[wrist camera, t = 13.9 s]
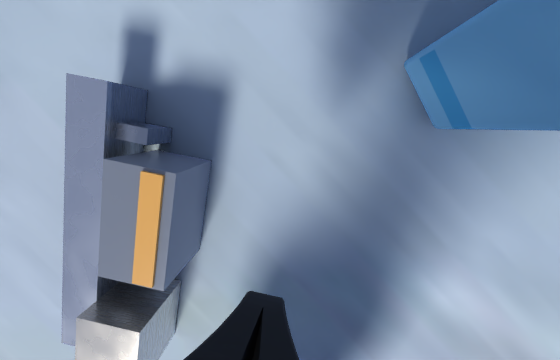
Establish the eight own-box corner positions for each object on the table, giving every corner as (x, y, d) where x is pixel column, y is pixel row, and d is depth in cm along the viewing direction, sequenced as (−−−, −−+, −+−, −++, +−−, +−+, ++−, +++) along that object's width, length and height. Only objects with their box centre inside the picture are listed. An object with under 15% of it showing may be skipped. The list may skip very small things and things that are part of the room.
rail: (174, 333, 22) (133, 399, 17) (102, 316, 23) (39, 375, 17) (203, 101, 18) (161, 90, 13) (115, 84, 19) (38, 67, 13)
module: (200, 248, 21) (161, 293, 15) (150, 237, 21) (95, 278, 15) (211, 160, 19) (174, 174, 14) (158, 149, 19) (100, 159, 14)
